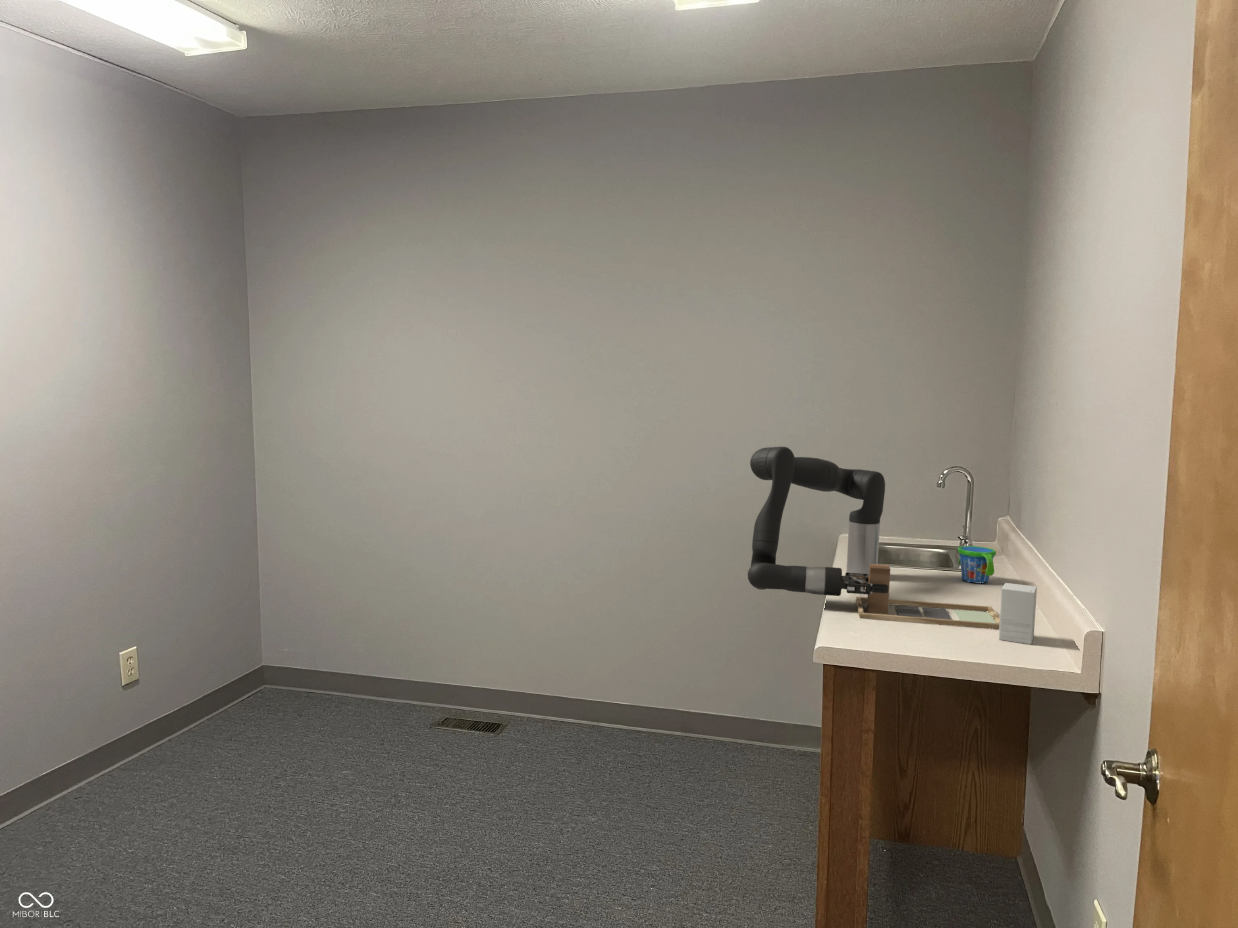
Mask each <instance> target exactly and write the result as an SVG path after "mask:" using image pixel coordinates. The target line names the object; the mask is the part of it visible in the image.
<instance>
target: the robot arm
mask: <svg viewBox="0 0 1238 928" xmlns="http://www.w3.org/2000/svg"><path fill="white" fill-rule="evenodd" d="M749 464H750V465H749V466H750V469H751V472H752V473H753V475H754V476H755V477H757V478H758V479H759V480H763V481H771V487H770V492H769V494H768V496H767V499H766V501H765V503H764V504H763V506H762V507H761V509H760V511H759V513H758V514H757V516H756V519H755V522H754V526H753V533H752V544H751V550H752V554H751V560H750V561H751V562H750V568H749V569H748V570H747V579H748V582H749V584H750V585H751V586H752V587H753V588H755V589H757V590H763V591H764V590H783V591H784V590H785V591H787V592H794V593H805V594H811V595H818V596H819V595H822V596H831V597H833V596H834V597H840V596H841V595H842V590H846V593H847V594H855V595H857V594H858V595H865V596H868V595H870V593H873V592H875V593H887V592H888V585H886V584H873V583H868V579H869V564H878V563H879V550H880V549H879V546H880V545H879V543H880V527H881V517H882V515H883V512H884V511H883V509H884V503H885V494H886V480H885V477H884V475H883V473H881V472H879V471H875V470H867V469H858V468H857V469H855V468H853V469H851V468H842V467H839V466H838V465H837V464H836V463H834V462H833V461H829V460H826V459H821V458H817V457H808V456H795V455H794V452H793V451H792V450H791V449H790V448H789V447H787V446H770V447H768V446H767V447H762V448H760V449H758V450H756V451H755V452H754V453H753V454H752V455H751V457H750V461H749ZM791 485H795V486H799V487H803V488H807V489H810V490H813V491H814V490H815V491H819V492H827V493H828V492H836V493H839V494H842V495H845V496H847V497H849V498H852V499H856V500H862V501H863V502H862V505H861V507H860V508H859V509H856V510H851V511H850V512H849V517H848V518H849V519H848V535H847V555H846V570H845V573H844V574H845V575H843V570H842V568H841V567H832V566H817V565H814V566H813V565H812V566H805V565H782V564H776V563H777V562H776V560H777V552H778V547H779V540H780V533H781V532H780V531H781V524H782V519H783V514H784V510H785V506H786V504H787V503H786V502H787V501H788V500H787V498H788V497H789V492H790V488H791Z"/></svg>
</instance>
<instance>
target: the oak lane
mask: <svg viewBox="0 0 1238 928" xmlns="http://www.w3.org/2000/svg"><path fill="white" fill-rule="evenodd" d="M867 597H868V596H855V598H856V599H855V600H856V607H858V608H857V612H859V613H858V616H859V617H860V618H859V619H865V618H866V620H867V619H868V620H878V621H879V620H880V621H892V622H902V623H905V622H906V623H916V624H917V623H918V624H927V625H940V626H941V625H942V626H950V627H951V626H953V627H954V626H955V627H967V628H977V629H988V628H991V630H992V628H993V630H999V624H1000V615H999V614H998V613H997V612H996V610H995V609H994V608H993V606H987V605H974V604H973V605H972V604H961V603H960V604H958V603H948V602H947V603H946V602H936V601H934V602H933V601H919V600H909V599H908V600H907V599H906V600H905V599H896V598H895V599H893V598H889V602H888V605H893V606H895V605H902V606H915V607H919V608H922V607H928V608H941V609H946V610H948V609H949V610H959V609H963V610H967V611H972V610H975V611H980V612H984V611H988V612H989V613H990V615H991V616H992V617H993V619H994V620H995V622H996V623H985V622H973V621H960V619H959V620H957V619H952V620H948V619H935V618H926V617H923V618H922V617H910V616H898V614H897V615H894V614H882V613H869V612H864V608H863V604H862V603H867Z"/></svg>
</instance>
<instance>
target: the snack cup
mask: <svg viewBox="0 0 1238 928" xmlns="http://www.w3.org/2000/svg"><path fill="white" fill-rule="evenodd" d="M957 553H958V554H959V557H958V565H960V570H961V571H960V572H961V580H962V579H963V580H962V581H964V580H966V581H969V582H968V583H970V582H981V583H982V582H983V583H982V584H985V583H984V582H986V583H988V582H989V580H990V576H991V577H992V576H993V575H994V574H995V567H994V566H995V565H994V558H995V556H996V554H997V551H996V550H995V549H993V548H990V547H986V546H985V547H984V546H976V545H964V546H959V547H958V548H957ZM966 581H965V582H966ZM981 583H980V584H981Z"/></svg>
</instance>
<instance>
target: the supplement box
mask: <svg viewBox="0 0 1238 928" xmlns="http://www.w3.org/2000/svg"><path fill="white" fill-rule="evenodd" d="M1037 590H1038V587H1037V586H1035V585H1025V584H1017V583H1010V582H1004V585H1003V586H1002V587H1001V589H1000V592H1001V593H1000V608H999V609H1000V611H999V617H1000V624H999V629H998V630H999V631H998V640H1000V641H1006V642H1014V643H1020V644H1026V645H1027V644H1028V645H1032V643H1033V641H1034V638H1035V624H1036V609H1037V608H1036V607H1037V593H1038V591H1037Z"/></svg>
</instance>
